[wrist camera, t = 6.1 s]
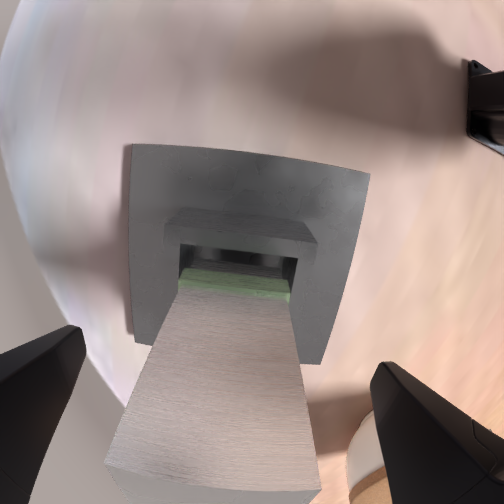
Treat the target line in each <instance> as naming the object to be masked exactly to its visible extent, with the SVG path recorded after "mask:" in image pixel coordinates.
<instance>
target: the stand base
mask: <svg viewBox="0 0 504 504" xmlns="http://www.w3.org/2000/svg"><path fill="white" fill-rule="evenodd" d="M369 179H370V174H369V173H365V172H360V171H356V170H351V169H346V168H342V167H337V166H332V165H326V164H321V163H316V162H310V161H304V160H298V159H292V158H286V157H280V156H273V155H266V154H258V153H250V152H242V151H234V150H224V149H214V148H203V147H190V146H175V145H156V144H133V145H132V157H131V171H130V189H129V274H130V292H131V307H132V318H133V329H134V338H135V342H136V343H141V344H146V345H151V346H153V344H154V342H155V340H156V338H157V335H158V333H159V331H160V329H161V327H162V325H163V322H164V320H165V318H166V316H167V314H168V312H169V310H170V308H171V306H172V304H173V301H174V299H175V297H176V295H177V293H178V280H179V278H180V276H181V274H182V272H183V270H184V268H190V267H191V265H192V263H193V261H194V259H195V258H203V259H211V260H218V261H226V262H235V263H243V264H251V265H259V266H267V267H276V268H280V270H281V274H282V279H283V280H288V284H289V288H290V293H291V295H290V300H289V304H288V308H289V313H290V318H291V323H292V327H293V332H294V337H295V343H296V348H297V353H298V358H299V363H300V364H315V365H320V364H321V361H322V358H323V355H324V352H325V349H326V346H327V343H328V340H329V337H330V334H331V331H332V328H333V325H334V322H335V319H336V315H337V312H338V309H339V305H340V302H341V298H342V295H343V292H344V288H345V284H346V281H347V277H348V273H349V270H350V266H351V262H352V258H353V254H354V250H355V246H356V242H357V237H358V233H359V229H360V224H361V219H362V215H363V210H364V205H365V200H366V195H367V190H368V185H369Z"/></svg>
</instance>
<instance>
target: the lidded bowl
mask: <svg viewBox="0 0 504 504" xmlns="http://www.w3.org/2000/svg"><path fill="white" fill-rule="evenodd" d="M346 477H347V483H348V488H349V492H350V493H349V500H350V504H392V499H391V494H390V489H389V484H388V479H387V474H386V469H385V465H384V460H383V456H382V452H381V447H380V443H379V439H378V435H377V430H376V425H375V418H374V411H373V410H372V411H371V412H370V413H368V414H367V415H366V416H365V418H364V419H363V420H362V422H361V424H360V427H359V429H358V430H357V431H356V433H355V435H354V436H353V438H352V440H351V443H350V445H349V447H348V452H347V457H346Z"/></svg>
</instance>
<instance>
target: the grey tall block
mask: <svg viewBox="0 0 504 504" xmlns="http://www.w3.org/2000/svg"><path fill="white" fill-rule="evenodd" d="M290 295H291V293H290V288H289V284H288V280H283V279H282V274H281V270H280V268H276V267H267V266H259V265H251V264H243V263H235V262H226V261H218V260H211V259H203V258H195V259H194V261H193V263H192V265H191V267H190V268H184V270H183V272H182V274H181V276H180V278H179V280H178V293H177V295H176V297H175V299H174V301H173V304H172V306H171V308H170V310H169V312H168V314H167V316H166V318H165V320H164V322H163V325H162V327H161V329H160V331H159V333H158V335H157V338H156V340H155V342H154V344H153V346H152V349H151V351H150V353H149V355H148V357H147V360H146V362H145V364H144V366H143V369H142V371H141V373H140V376H139V378H138V380H137V382H136V385H135V387H134V389H133V392H132V394H131V396H130V399H129V401H128V404H127V406H126V408H125V411H124V413H123V416H122V418H121V421H120V423H119V426H118V428H117V431H116V433H115V436H114V438H113V441H112V443H111V446H110V449H109V451H108V454H107V457H106V459H105V462H104V464H105V466H106V468H107V469H108V471H109V473H110V474H111V476H112V478H113V479H114V481H115V482H116V484H117V485H118V487H119V488H120V490H121V492H122V493H123V495H124V496H125V498H126V499H127V500H128V502H129V503H130V504H309V503H310V502H311V501H312V499H313V498H314V497H315V496H316V495H317V494H318V493H319V492H320V491H321V489H322V488H321V482H320V476H319V470H318V464H317V457H316V452H315V446H314V440H313V434H312V428H311V423H310V417H309V411H308V406H307V400H306V395H305V390H304V384H303V379H302V374H301V368H300V363H299V358H298V353H297V348H296V343H295V337H294V332H293V327H292V323H291V318H290V313H289V308H288V304H289V300H290Z"/></svg>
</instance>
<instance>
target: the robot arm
mask: <svg viewBox="0 0 504 504" xmlns="http://www.w3.org/2000/svg"><path fill="white" fill-rule="evenodd" d="M474 66H475V67H474ZM468 67H469V93H468V115H467V128H466V130H467V134H468V136H469V137H470V138H472V139H474V140H476V141H478V142H480V143H482V144H484V145H486V146H488V147H490V148H492V149H493V150H495V151H497V152H499V153H501V154H502V155H504V71H498V72H492V71H491V70H489V69H488V68H486V67H485V66H483V65H482V64H480V63H479V62H477V61H475V60H472V61H469V64H468ZM472 129H473V133H472ZM85 356H86V345H85V341H84V336H83V332H82V329H81V328H80V327H77V326H74V325H67V326H65V327H62V328H60V329H58V330H55V331H53V332H51V333H48V334H46V335H44V336H41V337H39V338H37V339H35V340H32V341H30V342H28V343H25V344H23V345H21V346H18V347H16V348H14V349H12V350H9V351H7V352H5V353H3V354H0V504H28V503H29V500H30V495H31V493H32V490H33V487H34V484H35V481H36V478H37V475H38V473H39V470H40V467H41V465H42V462H43V459H44V457H45V454H46V451H47V449H48V447H49V444H50V442H51V439H52V437H53V434H54V432H55V430H56V428H57V425H58V423H59V420H60V418H61V416H62V414H63V412H64V409H65V407H66V405H67V403H68V401H69V399H70V397H71V394H72V392H73V389H74V386H75V384H76V380H77V378H78V375H79V372H80V370H81V367H82V364H83V362H84V359H85ZM370 391H371V397H372V404H373V411H374V418H375V425H376V430H377V435H378V439H379V443H380V447H381V452H382V456H383V460H384V465H385V469H386V474H387V479H388V484H389V489H390V494H391V499H392V504H504V439H503V438H501V437H499V436H498V435H496V434H494V433H493V432H491V431H490V430H488V429H487V428H485V427H484V426H482V425H481V424H479V423H478V422H477V421H475V420H474V419H472V418H471V417H469V416H468V415H467V414H465V413H464V412H462V411H461V410H460V409H458V408H457V407H455V406H454V405H453V404H451V403H450V402H448V401H447V400H446V399H444V398H443V397H442V396H440V395H439V394H437V393H436V392H435V391H433V390H432V389H430V388H429V387H428V386H426V385H425V384H423V383H422V382H421V381H419V380H418V379H416V378H415V377H414V376H412V375H411V374H410V373H408V372H407V371H405V370H404V369H403V368H401V367H400V366H398V365H397V364H396V363H394V362H391V361H389V362H381V363H380V364H379V365H378V367H377V369H376V371H375V374H374V376H373V378H372V380H371V383H370Z"/></svg>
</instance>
